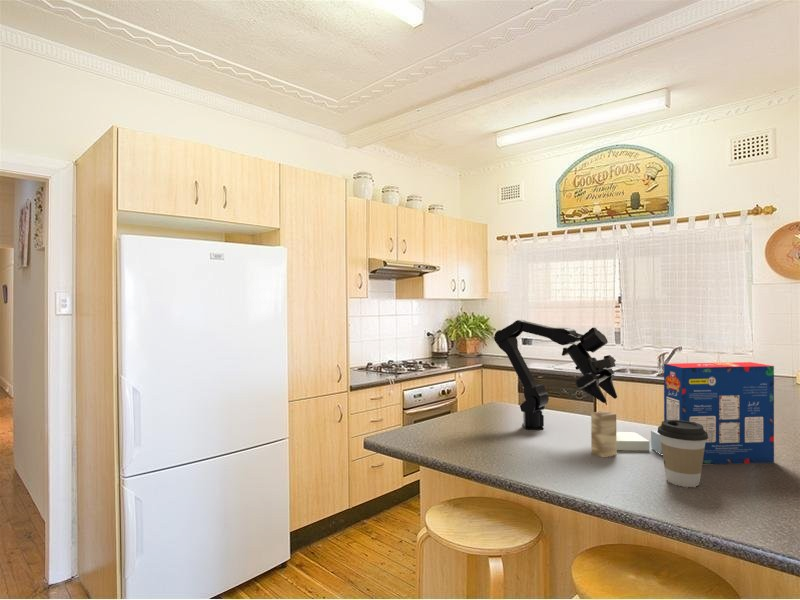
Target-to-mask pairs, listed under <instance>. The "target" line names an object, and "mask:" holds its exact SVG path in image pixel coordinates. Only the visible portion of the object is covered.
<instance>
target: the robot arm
mask: <svg viewBox="0 0 800 600" xmlns="http://www.w3.org/2000/svg"><path fill="white" fill-rule="evenodd" d="M522 333H527V334H532V335H535V336H538V337H544V338H547V339H549V340H550V341H551V342H554V343H556V344H558V345H561V346H568V345H569V346H568V347H563V348H562V352H561V356H569V358H570V359H571V360H572V362H573V363H574V365H575V367H574V368H575V370H579V372H580V373H581V375H582V376H580V377H579V378H577V379H576V380H575V385H576V387H577V389H579V390H580V389H581V391H584V392H585V393H587V394H589V395H591V397H594V398H595V399H597V401H600V402H601V403H603V404H605V403H607V399H606V397H605V395H604V393H603V391H604V392H606V393H607V394H608V395H609V396H610V397H611V398H613V399H615V400H616V399H617V398H618V395H617V391H616V389H615V386H614V382H613V381H614V380H613V379H614V377H615V371H614V370H613V367H614V368H615V367H616V361H617V360H616V359H615V358H614V356H612V355H611V354H608V355H604V356H603V358H602V359H597V358H596V357H592V356H591V354H590V353H589V352H591V353H595V352H596V351H598V350H600V349H601V348H603V347H604V346H606V345H607V344H608V339H607V337H606V335H605V334H604V333H602V332H601V331H600V330H598V329H597V328H596V327H591V328H590V329H589V330H588V331H587V332H585V333H584V334H581V333H579V332H577V331H576V330H575V328H572V327H553V326H549V325H548V326H547V325H543V324H539V323H535V322H531V321H527V320H525V319H517V320H515V321H514V322H512V323H511V324H510V325H507V326H505V327H503V328H502V329H500V330H499V329H498V330H497V331H496V332H495V334H494V335H493V336H494V337H493V340H494V342H495V344H496V345H497V346H498V348H499V349H501V350H502V351H503V352H504V353H505V354H506V356H507V358H508V359H509V361H510V364H511V365H512V367H513V370H514V371H515V373H516V375H517V377H518V379H519V381H520V383H521V385H522V386H523V397H524V399H525V400H524V401H523V402H522V403H520V405H519V408H520V411H521V412H523V414H522V415H523V416H522V417H523V418H522V419H523V420H522V421H523V423H522V426H523V428H524V429H526V430H544V429H545V428H544V426H545V425H544V424H545V422H544V420H545V418H544V417H545V415H543V410H545V407H546V406H547V405H548V404H549V400H550V398H549V394H550V393H549V392H548V391H547V390H546V387H545V385H544V384H543V383H541V384H538V383H537V382H536V381H535V379H534V376H533V375H532V373H531V371H530V369H529V367H528V365H527V362H526V361H525V359H524V358H523V356H522V353H521V352H520V350H519V345H518V344H519V343H518V342H519V341H518V337H519V336H520V335H521V334H522ZM576 343H577V344H576ZM602 390H603V391H602Z"/></svg>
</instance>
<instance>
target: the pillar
mask: <svg viewBox="0 0 800 600" xmlns="http://www.w3.org/2000/svg"><path fill="white" fill-rule="evenodd" d="M590 414H591V415H590V418H591V420H590V421H591V422H590V425H591V426H590V427H591V428H590V429H591V433H590V434H591V436H590V437H591V438H590V439H591V447H590V448H591V451H590V453H591V454H593V455H596V456H598V457H601V458H608V456H609V457H613V455H614V456H617V453H618V451H617V447H616V432H617V414H616V413H614V412H612V411H611V412H610V411H606V410H602V411H601V410H600V411H593V412H590Z"/></svg>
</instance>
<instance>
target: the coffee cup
mask: <svg viewBox="0 0 800 600" xmlns="http://www.w3.org/2000/svg"><path fill="white" fill-rule="evenodd" d="M656 430H657V432H658V433H659V434H660V440H661V447H662V453H663V456H662V460H663V465H664V466H663V467H664V472H665V477H666V481H667V480H668V481H669V482H670V483H669V482H668V481H667V482H668V483H669V484H671V483H673V484H672V485H674V484H676V485H675V486H677V485H678V486H677V487H680V486H683V487H682V488H688V487H694V488H697V487H696V486H698V485H699V486H700V483H701V477H702V471H703V470H702V469H703V465H702V463H703V456H704V449H705V442H706V440H707V439H708V434H707V432H706V431H704V428H703V426H702V425H700V424H698V423H694V422H690V421H683V420H665V421H664V420H662V421H661V425H659V426H657V429H656ZM699 486H698V487H699Z"/></svg>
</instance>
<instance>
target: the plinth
mask: <svg viewBox="0 0 800 600" xmlns="http://www.w3.org/2000/svg"><path fill="white" fill-rule="evenodd" d="M616 447H617V450H650V449H651V440H650V441H649V440H648V439H646V438H645V437H644V436H642V435H640V434H638V433H636V432H635V431H632V432H631V431H630V432H629V431H616Z"/></svg>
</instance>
